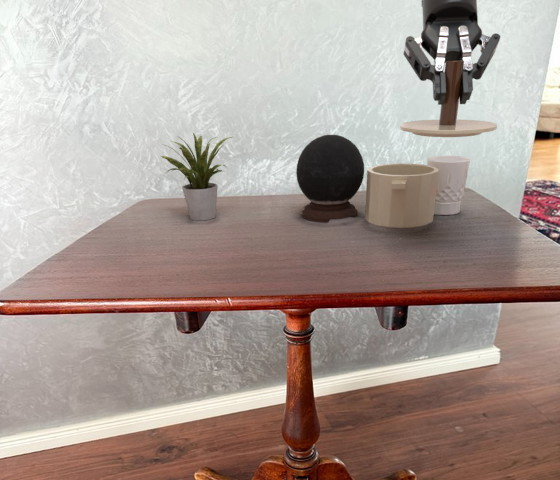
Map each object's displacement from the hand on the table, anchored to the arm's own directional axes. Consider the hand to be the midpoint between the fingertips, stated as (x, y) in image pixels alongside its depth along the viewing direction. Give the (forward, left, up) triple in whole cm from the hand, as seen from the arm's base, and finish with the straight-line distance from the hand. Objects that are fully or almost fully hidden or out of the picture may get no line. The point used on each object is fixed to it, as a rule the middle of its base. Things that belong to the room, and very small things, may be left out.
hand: (453, 99), depth 75 cm
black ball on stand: (+21, -22, -22) cm, 38 cm away
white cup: (-1, -28, -22) cm, 36 cm away
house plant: (+46, -18, -22) cm, 54 cm away
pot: (+7, -19, -22) cm, 30 cm away
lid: (0, -2, -4) cm, 4 cm away
